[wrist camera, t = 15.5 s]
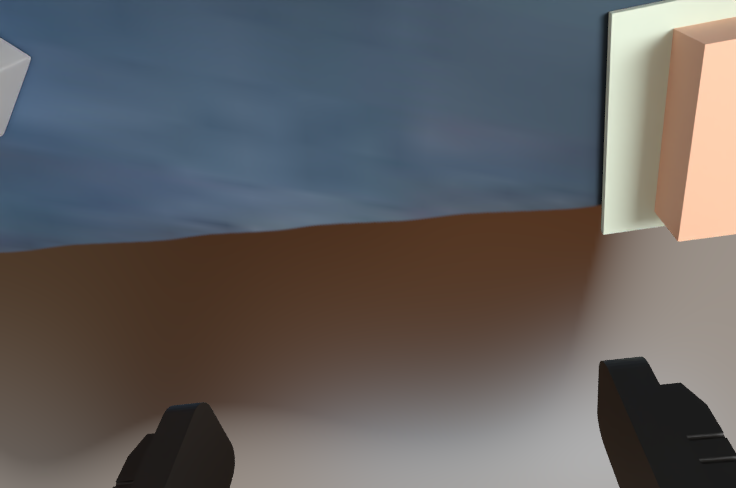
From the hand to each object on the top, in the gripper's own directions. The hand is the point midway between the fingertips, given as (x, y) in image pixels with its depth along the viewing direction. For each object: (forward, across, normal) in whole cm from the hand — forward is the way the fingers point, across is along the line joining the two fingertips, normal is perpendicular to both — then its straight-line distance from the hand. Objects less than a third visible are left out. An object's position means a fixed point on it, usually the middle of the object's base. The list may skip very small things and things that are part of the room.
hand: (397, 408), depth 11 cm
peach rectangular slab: (+28, -19, +8) cm, 34 cm away
